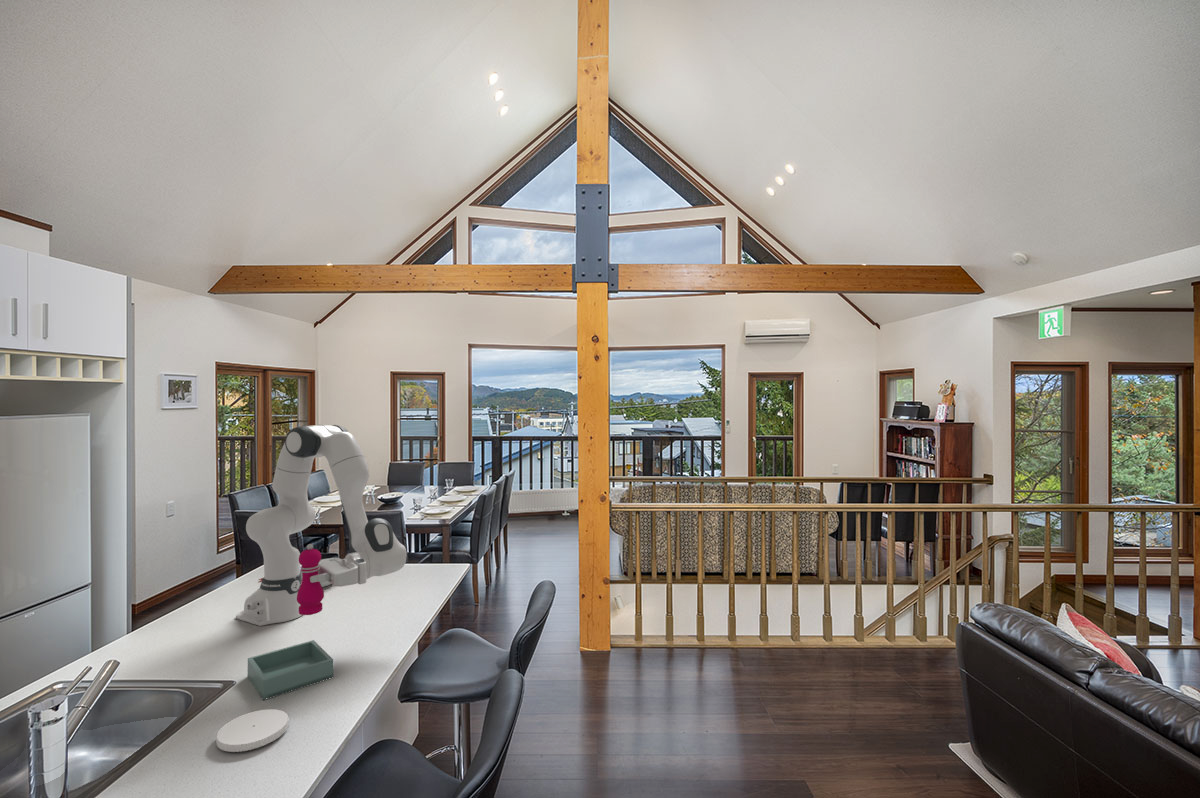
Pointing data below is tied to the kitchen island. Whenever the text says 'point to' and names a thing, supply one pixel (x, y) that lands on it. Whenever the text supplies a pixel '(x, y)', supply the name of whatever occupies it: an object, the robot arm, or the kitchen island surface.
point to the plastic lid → (252, 730)
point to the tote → (289, 668)
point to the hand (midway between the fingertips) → (306, 577)
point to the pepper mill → (308, 591)
